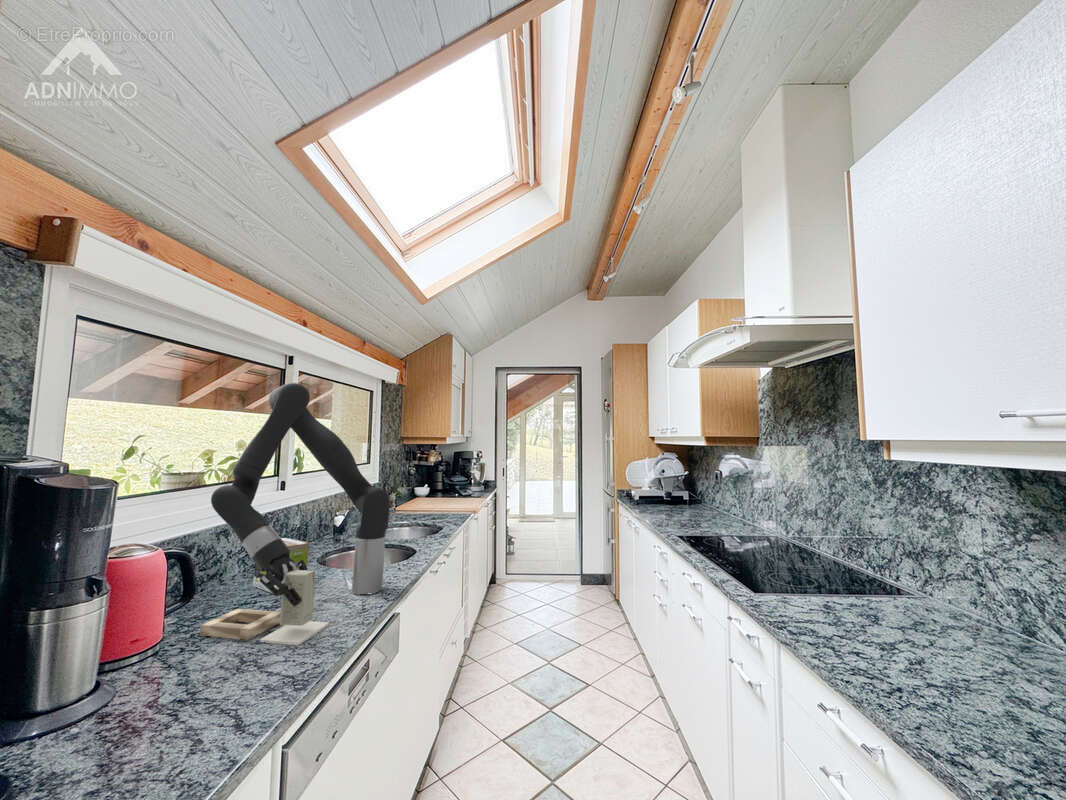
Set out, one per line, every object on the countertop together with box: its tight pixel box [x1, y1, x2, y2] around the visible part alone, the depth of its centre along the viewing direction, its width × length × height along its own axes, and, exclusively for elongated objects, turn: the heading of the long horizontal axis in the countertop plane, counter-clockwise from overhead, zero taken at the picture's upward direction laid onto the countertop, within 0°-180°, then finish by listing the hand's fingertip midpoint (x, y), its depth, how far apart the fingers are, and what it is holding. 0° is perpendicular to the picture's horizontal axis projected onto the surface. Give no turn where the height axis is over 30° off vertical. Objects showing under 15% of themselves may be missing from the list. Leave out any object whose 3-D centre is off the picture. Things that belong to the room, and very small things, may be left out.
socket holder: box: [199, 608, 281, 641], centre depth 109 cm, size 11×13×2 cm
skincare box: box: [279, 570, 316, 626], centre depth 108 cm, size 6×4×12 cm
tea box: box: [252, 537, 310, 594], centre depth 142 cm, size 15×10×15 cm, turn 58°
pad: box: [259, 620, 330, 646], centre depth 107 cm, size 12×10×1 cm
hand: (304, 600), depth 108 cm, fingers closed on skincare box, 4 cm apart
